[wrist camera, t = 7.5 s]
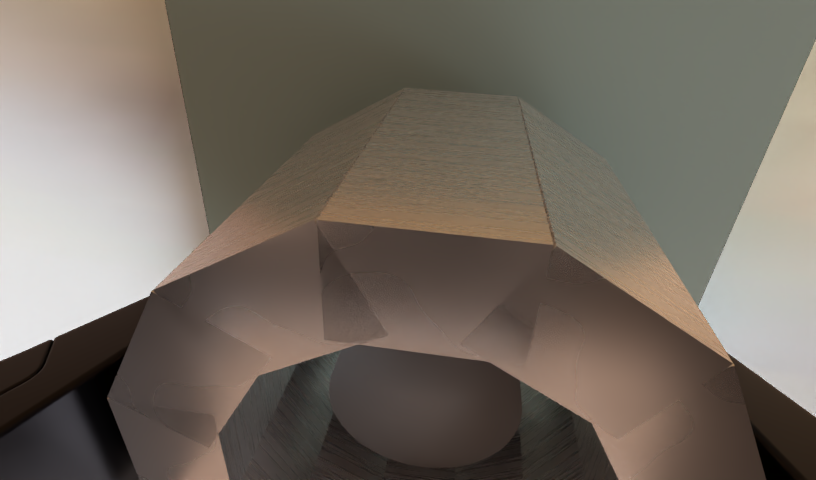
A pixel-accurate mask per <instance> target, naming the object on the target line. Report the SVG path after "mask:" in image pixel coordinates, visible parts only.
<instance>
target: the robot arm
mask: <svg viewBox="0 0 816 480" xmlns="http://www.w3.org/2000/svg"><path fill="white" fill-rule="evenodd" d="M148 298H149V296H148V297H146V298H144V299H142V300H139V301H137V302H135V303H133V304H130V305H128V306H126V307H123V308H121V309H119V310H117V311H114V312H112V313H110V314H108V315H105V316H103V317H101V318H99V319H96V320H94V321H92V322H89V323H87V324H85V325H83V326H80V327H78V328H76V329H74V330H71V331H69V332H67V333H64V334H62V335H60V336H58V337H56V338H55V339H54V341H53V340H48V341H46V342H44V343H41V344H39V345H37V346H35V347H33V348H30V349H28V350H26V351H23V352H21V353H19V354H16V355H14V356H12V357H9V358H7V359H4V360H2V361H0V480H139V477H138V475H137V472H136V470H135V467H134V465H133V462H132V460H131V457H130V455H129V452H128V450H127V447H126V445H125V442H124V440H123V437H122V435H121V432H120V430H119V427H118V425H117V422H116V420H115V417H114V415H113V412H112V409H111V407H110V404H109V402H108V399H107V398H108V397H107V396H108V394H109V392H110V389H111V387H112V384H113V382H114V380H115V377H116V375H117V372H118V370H119V368H120V365H121V363H122V360H123V358H124V356H125V353H126V351H127V349H128V346H129V344H130V341H131V339H132V337H133V334H134V332H135V329H136V327H137V325H138V322H139V320H140V317H141V315H142V313H143V310H144V308H145V305H146V303H147V301H148ZM726 353H727V352H726ZM727 354H728V353H727ZM728 356H729V357H730V359H731V361H732V362H733V364H734V365H735V368H736V372H737V376H738V379H739V383H740V386H741V390H742V394H743V397H744V401H745V405H746V408H747V412H748V415H749V419H750V423H751V426H752V430H753V434H754V437H755V441H756V444H757V448H758V452H759V455H760V459H761V463H762V466H763V470H764V474H765V477H766V480H816V417H814V416H813V415H812V414H810V413H809V412H808V411H806V410H805V409H803V408H802V407H801V406H799V405H798V404H797V403H795V402H794V401H793V400H791V399H790V398H788V397H787V396H786V395H784V394H783V393H782V392H780V391H779V390H777V389H776V388H775V387H773V386H772V385H771V384H769V383H768V382H766V381H765V380H764V379H762V378H761V377H760V376H758V375H757V374H755V373H754V372H753V371H751V370H750V369H749V368H747V367H746V366H744V365H743V364H742V363H740V362H739V361H738V360H736V359H735V358H734V357H732V356H731V355H729V354H728Z"/></svg>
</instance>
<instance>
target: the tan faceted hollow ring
mask: <svg viewBox="0 0 816 480" xmlns="http://www.w3.org/2000/svg"><path fill="white" fill-rule="evenodd" d="M355 345H366V346H373V347H381V348H389V349H396V350H404V351H411V352H419V353H426V354H434V355H441V356H449V357H456V358H464V359H471V360H479V361H486V362H490V363H492V364H493V365H495V366H497V367H498V368H500V369H502V370H503V371H505V372H507V373H508V374H510V375H512V376H513V377H515V378H517V379H518V380H520V387H521V399H522V416H521V421H520V424H519V427H518V429H517V431H516V433H515V435H514V436H513V438H512V439H511V440H510V441H509V442H508V444H506V445H505V446H504V447H503V448H502V449H501V450H499V451H498V452H496V453H495V454H493V455H492V456H490V457H488V458H486V459H483V460H481V461H478V462H475V463H472V464H468V465H464V466H457V467H448V468H429V467H420V466H414V465H409V464H405V463H401V462H398V461H395V460H392V459H389V458H387V457H384V456H382V455H380V454H378V453H376V452H374V451H372V450H370V449H369V448H367V447H365V446H364V445H363V444H361V443H360V442H359V441H357V440H356V439H355V438H354V437H353V436H352V435H350V434H349V433H348V431H347V430H346V429H345V428H344V427H343V426H342V424H341V423H340V421H339V420H338V419H337V417H336V415H335V413H334V411H333V408H332V405H331V402H330V396H329V383H330V378H331V374H332V372H333V369H334V366H335V364H336V361H337V359H338V356H339V353H340V351H341V350H342V349H345V348H349V347H352V346H355ZM107 397H108V398H107V399H108V402H109V404H110V407H111V409H112V412H113V415H114V417H115V420H116V422H117V425H118V427H119V430H120V432H121V435H122V437H123V440H124V442H125V445H126V447H127V450H128V452H129V455H130V457H131V460H132V462H133V465H134V467H135V470H136V472H137V475H138V477H139V480H766V477H765V474H764V470H763V466H762V463H761V459H760V455H759V452H758V448H757V444H756V441H755V437H754V434H753V430H752V426H751V423H750V419H749V415H748V412H747V408H746V405H745V401H744V397H743V394H742V390H741V386H740V383H739V379H738V376H737V372H736V368H735V365H734V364H733V362H732V361H731V359H730V357H729V356H728V354H727V353H726V351H725V349H724V348H723V346H722V345H721V343H720V341H719V340H718V338H717V337H716V335H715V333H714V332H713V330H712V329H711V327H710V325H709V324H708V322H707V321H706V319H705V317H704V316H703V314H702V313H701V311H700V309H699V308H698V306H697V305H696V303H695V301H694V300H693V298H692V297H691V295H690V293H689V292H688V290H687V289H686V287H685V285H684V284H683V282H682V281H681V279H680V277H679V276H678V274H677V273H676V271H675V269H674V268H673V266H672V265H671V263H670V261H669V260H668V258H667V257H666V255H665V253H664V252H663V250H662V249H661V247H660V245H659V244H658V242H657V241H656V239H655V237H654V236H653V234H652V233H651V231H650V229H649V228H648V226H647V225H646V223H645V221H644V220H643V218H642V217H641V215H640V213H639V212H638V210H637V209H636V207H635V205H634V204H633V202H632V201H631V199H630V197H629V196H628V194H627V193H626V191H625V189H624V188H623V186H622V185H621V183H620V181H619V180H618V178H617V177H616V175H615V173H614V172H613V170H612V169H611V167H610V165H609V164H608V162H607V161H606V159H605V158H603V157H602V156H601V155H599V154H598V153H596V152H595V151H594V150H592V149H591V148H589V147H588V146H587V145H585V144H584V143H582V142H581V141H580V140H578V139H577V138H576V137H574V136H573V135H571V134H570V133H569V132H567V131H566V130H564V129H563V128H562V127H560V126H559V125H557V124H556V123H555V122H553V121H552V120H551V119H549V118H548V117H546V116H545V115H544V114H542V113H541V112H539V111H538V110H537V109H535V108H534V107H533V106H531V105H530V104H528V103H527V102H526V101H524V100H523V99H521V98H520V97H517V96H509V95H496V94H482V93H469V92H456V91H443V90H430V89H417V88H403V89H401V90H399V91H397V92H395V93H393V94H392V95H390V96H388V97H386V98H384V99H382V100H380V101H378V102H376V103H374V104H372V105H370V106H368V107H366V108H364V109H362V110H360V111H358V112H356V113H354V114H352V115H350V116H348V117H347V118H345V119H343V120H341V121H339V122H337V123H335V124H333V125H331V126H329V127H327V128H325V129H323V130H321V131H319V132H317V133H315V134H314V135H313V136H312V137H311V138H310V139H309V140H308V141H307V142H306V143H305V144H304V145H303V146H302V147H301V148H300V149H299V150H298V151H296V152H295V153H294V154H293V155H292V156H291V157H290V158H289V159H288V160H287V161H286V162H285V163H284V164H283V165H282V166H281V167H280V168H279V169H278V170H277V171H276V172H275V173H274V174H273V175H272V176H271V177H270V178H269V179H267V180H266V181H265V182H264V183H263V184H262V185H261V186H260V187H259V188H258V189H257V190H256V191H255V192H254V193H253V194H252V195H251V196H250V197H249V198H248V199H247V200H246V201H245V202H244V203H243V204H242V205H241V206H239V207H238V208H237V209H236V210H235V211H234V212H233V213H232V214H231V215H230V216H229V217H228V218H227V219H226V220H225V221H224V222H223V223H222V224H221V225H220V226H219V227H218V228H217V229H216V230H215V231H214V232H213V233H212V234H210V235H209V236H208V237H207V238H206V239H205V240H204V241H203V242H202V243H201V244H200V245H199V246H198V247H197V248H196V249H195V250H194V251H193V252H192V253H191V254H190V255H189V256H188V257H187V258H186V259H185V260H184V261H183V262H181V263H180V264H179V265H178V266H177V267H176V268H175V269H174V270H173V271H172V272H171V273H170V274H169V275H168V276H167V277H166V278H165V279H164V280H163V281H162V282H161V283H160V284H159V285H158V286H157V287H156V288H155V289H153V290H152V291H151V294H150V296H149V298H148V301H147V303H146V305H145V308H144V310H143V313H142V315H141V317H140V320H139V322H138V325H137V327H136V329H135V332H134V334H133V337H132V339H131V341H130V344H129V346H128V349H127V351H126V353H125V356H124V358H123V360H122V363H121V365H120V368H119V370H118V372H117V375H116V377H115V380H114V382H113V384H112V387H111V389H110V392H109V394H108V396H107Z"/></svg>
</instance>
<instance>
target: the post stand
mask: <svg viewBox="0 0 816 480" xmlns="http://www.w3.org/2000/svg"><path fill="white" fill-rule="evenodd" d="M165 4H166V9H167V14H168V19H169V25H170V30H171V35H172V40H173V45H174V51H175V56H176V61H177V66H178V71H179V76H180V82H181V87H182V92H183V97H184V102H185V108H186V113H187V118H188V123H189V128H190V134H191V139H192V144H193V149H194V154H195V159H196V165H197V170H198V175H199V180H200V185H201V191H202V196H203V201H204V206H205V211H206V216H207V222H208V227H209V232H210V234H212V233H213V232H214V231H215V230H216V229H217V228H218V227H219V226H220V225H221V224H222V223H223V222H224V221H225V220H226V219H227V218H228V217H229V216H230V215H231V214H232V213H233V212H234V211H235V210H236V209H237V208H238V207H239V206H241V205H242V204H243V203H244V202H245V201H246V200H247V199H248V198H249V197H250V196H251V195H252V194H253V193H254V192H255V191H256V190H257V189H258V188H259V187H260V186H261V185H262V184H263V183H264V182H265V181H266V180H267V179H269V178H270V177H271V176H272V175H273V174H274V173H275V172H276V171H277V170H278V169H279V168H280V167H281V166H282V165H283V164H284V163H285V162H286V161H287V160H288V159H289V158H290V157H291V156H292V155H293V154H294V153H295V152H296V151H298V150H299V149H300V148H301V147H302V146H303V145H304V144H305V143H306V142H307V141H308V140H309V139H310V138H311V137H312V136H313V135H314V134H315V133H317V132H319V131H321V130H323V129H325V128H327V127H329V126H331V125H333V124H335V123H337V122H339V121H341V120H343V119H345V118H347V117H348V116H350V115H352V114H354V113H356V112H358V111H360V110H362V109H364V108H366V107H368V106H370V105H372V104H374V103H376V102H378V101H380V100H382V99H384V98H386V97H388V96H390V95H392V94H393V93H395V92H397V91H399V90H401V89H403V88H417V89H430V90H443V91H456V92H469V93H482V94H496V95H509V96H517V97H520V98H521V99H523V100H524V101H526V102H527V103H528V104H530V105H531V106H533V107H534V108H535V109H537V110H538V111H539V112H541V113H542V114H544V115H545V116H546V117H548V118H549V119H551V120H552V121H553V122H555V123H556V124H557V125H559V126H560V127H562V128H563V129H564V130H566V131H567V132H569V133H570V134H571V135H573V136H574V137H576V138H577V139H578V140H580V141H581V142H582V143H584V144H585V145H587V146H588V147H589V148H591V149H592V150H594V151H595V152H596V153H598V154H599V155H601V156H602V157H603V158H605V159H606V161H607V162H608V164H609V165H610V167H611V169H612V170H613V172H614V173H615V175H616V177H617V178H618V180H619V181H620V183H621V185H622V186H623V188H624V189H625V191H626V193H627V194H628V196H629V197H630V199H631V201H632V202H633V204H634V205H635V207H636V209H637V210H638V212H639V213H640V215H641V217H642V218H643V220H644V221H645V223H646V225H647V226H648V228H649V229H650V231H651V233H652V234H653V236H654V237H655V239H656V241H657V242H658V244H659V245H660V247H661V249H662V250H663V252H664V253H665V255H666V257H667V258H668V260H669V261H670V263H671V265H672V266H673V268H674V269H675V271H676V273H677V274H678V276H679V277H680V279H681V281H682V282H683V284H684V285H685V287H686V289H687V290H688V292H689V293H690V295H691V297H692V298H693V300H694V301H695V303H696V305H697V306H698V305H699V302H700V300H701V298H702V296H703V293H704V291H705V289H706V287H707V284H708V282H709V280H710V278H711V275H712V273H713V271H714V268H715V266H716V264H717V262H718V259H719V257H720V255H721V253H722V250H723V248H724V246H725V244H726V241H727V239H728V237H729V234H730V232H731V230H732V228H733V225H734V223H735V221H736V219H737V216H738V214H739V212H740V210H741V207H742V205H743V203H744V201H745V198H746V196H747V194H748V191H749V189H750V187H751V185H752V182H753V180H754V178H755V176H756V173H757V171H758V169H759V167H760V164H761V162H762V160H763V158H764V155H765V153H766V151H767V148H768V146H769V144H770V142H771V139H772V137H773V135H774V133H775V130H776V128H777V126H778V124H779V121H780V119H781V117H782V115H783V112H784V110H785V108H786V105H787V103H788V101H789V99H790V96H791V94H792V92H793V90H794V87H795V85H796V83H797V81H798V78H799V76H800V74H801V72H802V69H803V67H804V65H805V62H806V60H807V58H808V56H809V53H810V51H811V49H812V47H813V44H814V42H815V40H816V0H165ZM329 396H330V402H331V405H332V408H333V411H334V413H335V415H336V417H337V419H338V420H339V421H340V423H341V424H342V426H343V427H344V428H345V429H346V430H347V431H348V433H349V434H350V435H352V436H353V437H354V438H355V439H356V440H357V441H359V442H360V443H361V444H363V445H364V446H365V447H367V448H369V449H370V450H372V451H374V452H376V453H378V454H380V455H382V456H384V457H387V458H389V459H392V460H395V461H398V462H401V463H405V464H409V465H414V466H420V467H429V468H448V467H457V466H464V465H468V464H472V463H475V462H478V461H481V460H483V459H486V458H488V457H490V456H492V455H493V454H495V453H496V452H498V451H499V450H501V449H502V448H503V447H504V446H505V445H506V444H508V442H509V441H510V440H511V439H512V438H513V436H514V435H515V433H516V431H517V429H518V427H519V424H520V421H521V416H522V399H521V387H520V380H518V379H517V378H515V377H513V376H512V375H510V374H508V373H507V372H505V371H503V370H502V369H500V368H498V367H497V366H495V365H493V364H492V363H490V362H486V361H479V360H471V359H464V358H456V357H449V356H441V355H434V354H426V353H419V352H411V351H404V350H396V349H389V348H381V347H373V346H366V345H355V346H352V347H349V348H345V349H342V350H341V351H340V353H339V356H338V359H337V361H336V364H335V366H334V369H333V372H332V374H331V378H330V383H329Z"/></svg>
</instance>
